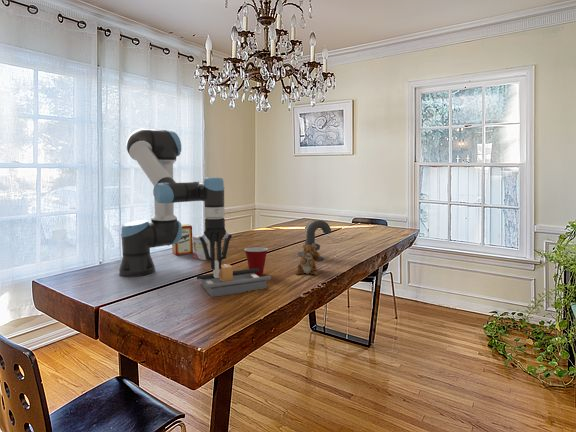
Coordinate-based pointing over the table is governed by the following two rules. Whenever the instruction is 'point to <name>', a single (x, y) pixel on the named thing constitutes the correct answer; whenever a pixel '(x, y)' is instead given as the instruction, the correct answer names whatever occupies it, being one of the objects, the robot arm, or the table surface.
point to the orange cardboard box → (184, 242)
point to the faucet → (311, 235)
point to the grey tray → (235, 280)
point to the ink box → (199, 248)
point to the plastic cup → (256, 258)
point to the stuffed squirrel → (308, 260)
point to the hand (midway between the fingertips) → (216, 277)
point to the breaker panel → (233, 288)
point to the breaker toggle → (226, 273)
